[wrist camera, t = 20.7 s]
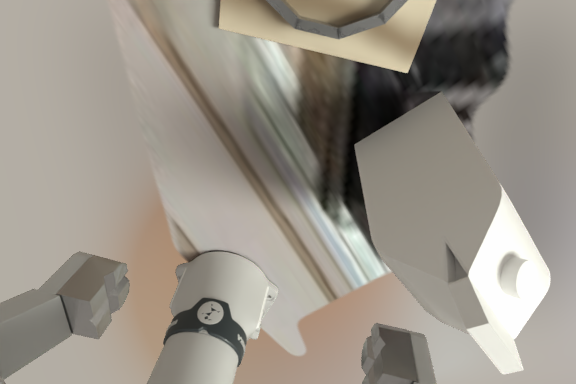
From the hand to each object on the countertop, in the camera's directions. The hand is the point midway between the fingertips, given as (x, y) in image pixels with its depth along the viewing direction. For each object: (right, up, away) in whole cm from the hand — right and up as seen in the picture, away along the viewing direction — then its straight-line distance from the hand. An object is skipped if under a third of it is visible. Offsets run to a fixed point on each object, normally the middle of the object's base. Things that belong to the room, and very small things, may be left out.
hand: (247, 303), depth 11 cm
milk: (+18, +8, +32) cm, 38 cm away
